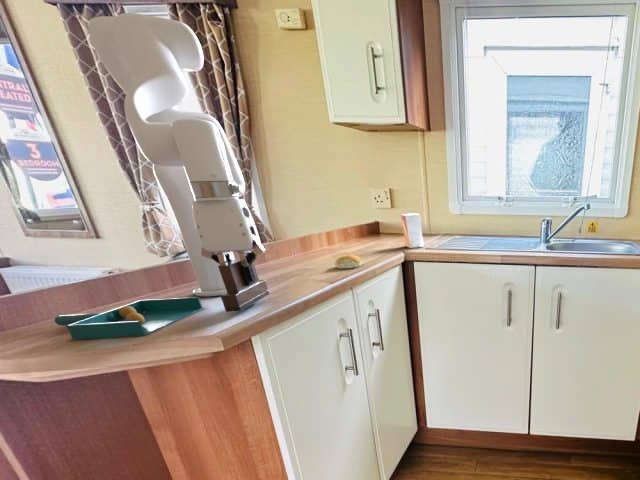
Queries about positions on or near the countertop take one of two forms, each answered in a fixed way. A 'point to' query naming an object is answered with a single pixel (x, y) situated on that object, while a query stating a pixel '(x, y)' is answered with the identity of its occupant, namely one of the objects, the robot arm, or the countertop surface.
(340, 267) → the bread roll
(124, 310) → the orange round ball
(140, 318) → the crumb
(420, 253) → the countertop surface
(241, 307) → the stepped wooden block
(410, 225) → the small box
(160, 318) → the dustpan
